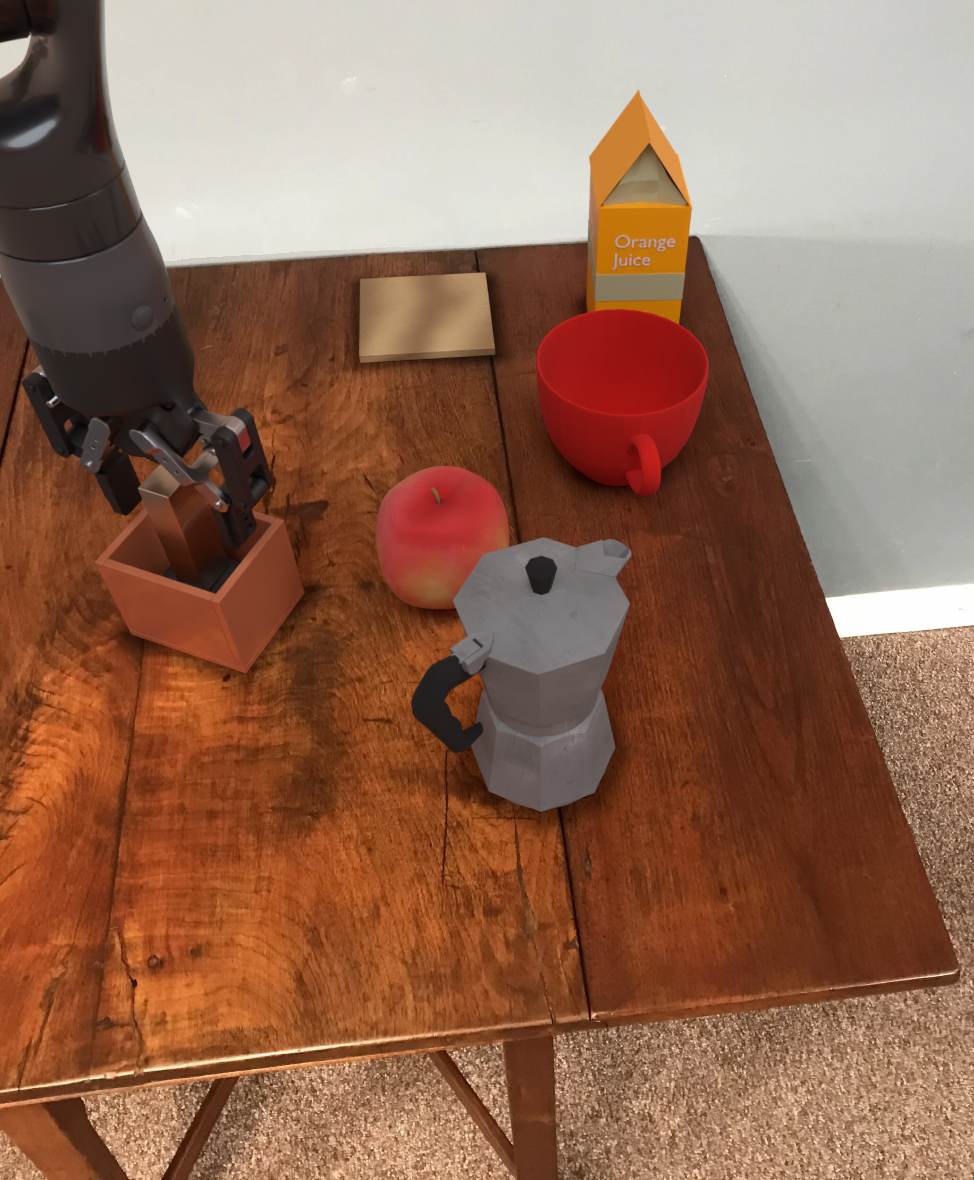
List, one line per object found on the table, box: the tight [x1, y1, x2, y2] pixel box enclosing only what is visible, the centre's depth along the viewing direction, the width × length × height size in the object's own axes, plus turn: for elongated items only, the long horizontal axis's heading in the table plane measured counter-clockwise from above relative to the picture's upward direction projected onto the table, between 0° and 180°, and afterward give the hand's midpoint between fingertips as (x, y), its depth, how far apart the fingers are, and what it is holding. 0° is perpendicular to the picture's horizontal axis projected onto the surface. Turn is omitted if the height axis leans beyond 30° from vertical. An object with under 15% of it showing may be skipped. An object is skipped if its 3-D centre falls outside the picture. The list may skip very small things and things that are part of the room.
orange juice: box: [585, 89, 693, 325], centre depth 88 cm, size 8×9×20 cm
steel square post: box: [138, 464, 242, 594], centre depth 67 cm, size 5×4×13 cm
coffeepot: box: [410, 536, 632, 813], centre depth 59 cm, size 15×9×18 cm, turn 135°
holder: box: [94, 502, 306, 674], centre depth 70 cm, size 9×8×8 cm
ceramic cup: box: [535, 309, 709, 497], centre depth 79 cm, size 13×17×10 cm
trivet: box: [358, 272, 496, 364], centre depth 95 cm, size 12×12×1 cm
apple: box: [374, 465, 510, 610], centre depth 71 cm, size 10×10×10 cm
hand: (184, 522), depth 65 cm, fingers open, 7 cm apart
